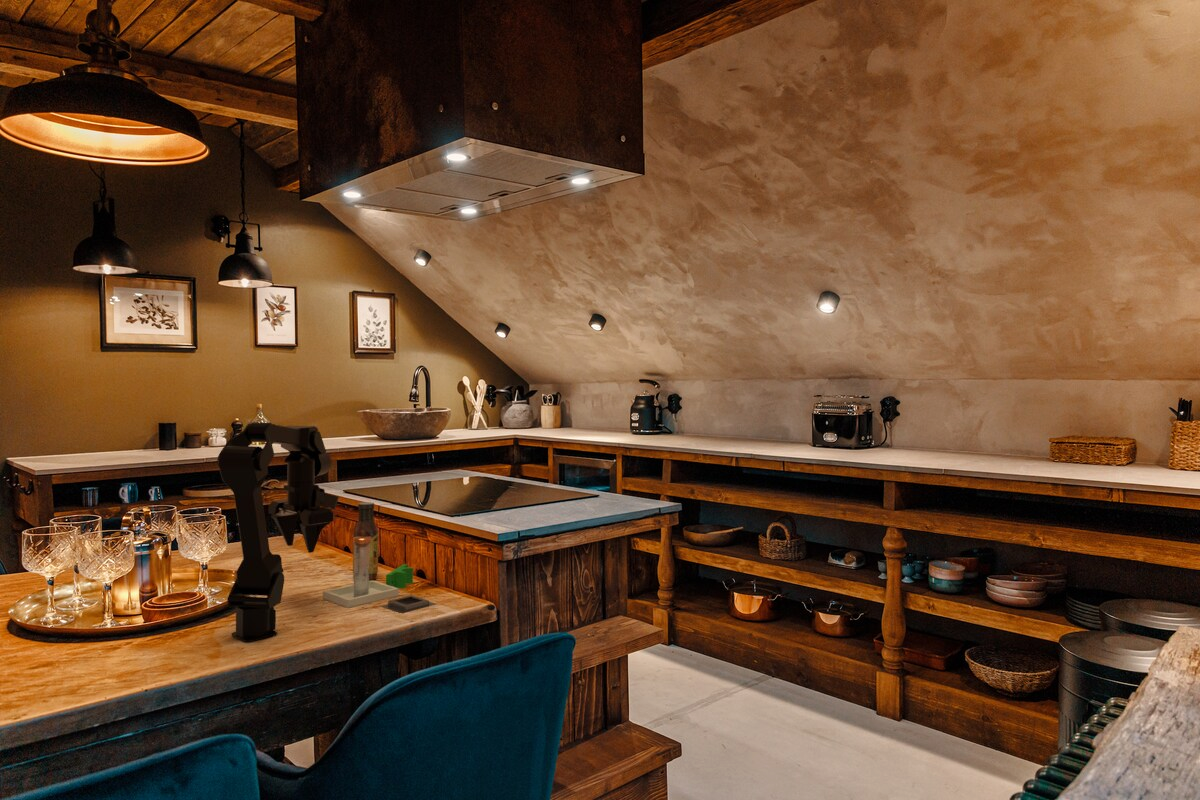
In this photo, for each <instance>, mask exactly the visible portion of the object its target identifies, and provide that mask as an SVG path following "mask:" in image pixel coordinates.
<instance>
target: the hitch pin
mask: <svg viewBox="0 0 1200 800" xmlns="http://www.w3.org/2000/svg"><path fill="white" fill-rule="evenodd" d="M371 540H372V537H370V536H357V537H354V536H353V537H352V544H353V543H355V552H354V573H353V575H354V578H353V585H354V598H355V597H360V596H364V595H368V594H369V552H370V543H371Z"/></svg>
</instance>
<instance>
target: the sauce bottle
mask: <svg viewBox="0 0 1200 800" xmlns="http://www.w3.org/2000/svg"><path fill="white" fill-rule="evenodd" d="M357 509H358V517H357V519H358V522H357V523H356V525H355V526H354V527H353V538H354V537H357V536H370V537H372V540H371V543H370V552H369V581H372V580H375V579H377V577H378V572H379V530H378V528H377V525H376V522H375V519H374V514H375V513H374V510H375V503H374V502H371V501H366V502H365V501H363V502H358V504H357ZM352 545H353V547H352V548H353V549H352V573H353V577H352V578H353V579H354V552H355V543H353V542H352Z"/></svg>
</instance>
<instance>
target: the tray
mask: <svg viewBox="0 0 1200 800" xmlns="http://www.w3.org/2000/svg"><path fill="white" fill-rule="evenodd" d="M399 591H400V588H396V587H392V586H389V585H386V583H383V582H380V581H376V580H375V579H373V580H370V581H369V594H368V595H364V596H360V597H355V598H354V584H349V585H345V586H340V587H336V588H332V589H331V588H330V589H326V590H323V591H322V600H324V601H327V602H329V603H333V604H335V605H338V606H341V607H343V608H346V609H351V608H352V609H353V608H355V607H361V606H364V605H367V604H372V603H377V602H381V601H384V600H389V599H392V598H393V599H394V598H397V597H399V595H400V594H399V593H400V592H399Z"/></svg>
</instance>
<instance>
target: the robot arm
mask: <svg viewBox="0 0 1200 800" xmlns="http://www.w3.org/2000/svg"><path fill="white" fill-rule="evenodd" d="M252 443H265V445H264V446H263V447H261V446H252ZM273 444H275V445H280V447H281V448H282V449H284V450H286V451H288V453H289V454H288V455H287V456H286V457H285V459H284V463H286V464H287V481H286V482H287V484H283V490H284V491H287V493H286V497H287V498H286V499H279V500H273V501H271V502H270V503H269V504H268V514H270V515H271V518H272V519H273V520H274V522H275V524H276V526H277V528H278V529H279V532H280V533H281V535H282V537H283V539H284V542H285V543H286V545H287V546H288V547H291V546H293V544H294V540H295V532H296V531H295V530H296V524H297V520H298V519H299V518H300V521H301V523H299V527H300V529H301V533H302V536H303V540H304V543H305V547H306V550H307V552H308V553H310V554H311V553H314V552H315V550H316V549H315V548H316V546H317V543H318V540H319V538H320V535H321V532H322V531H323V529H324V528H325V527H326V526H328V525H330V524H331V522H334V521H335V512H334V510H336V506H337V503H338V501H339V498H340V496H338V495H335V494H330V493H327V492H326V490H325V488H321V487H320V485H319V484H316V483H315V478H316V477H319V476H322V475H324V474H327V473H328V472H329V471H330V470H331V468H332V459H331V457H330V455H329V454H328V453H327V450H326V446H325V444H324V441H323V438H322V433H321V432H320V431H319V429H318V427H317V426H316V425H314V426H313V425H285V426H284V425H279V424H274V423H272V422H264V421H263V422H261V421H259V422H258V421H257V422H256V421H253V422H250V423H248V424H247V425H246V426H245V427H244V429H243V430H242V431H241V432H239V433H237V434H236V435H235V436H233V437H231V438H230V439H229V440H227V441H226V443H225V444H224V446H223V448H222V449H221V450H220V452H219V454H218V456H217V460H216V461H217V467H218V469H219V473H220V476H221V479H222V482H223V483H224V484H225V485H226V486H227V487H228V488H229V489H230V491H232V493H233V499H234V503H235V510H236V518H237V524H238V530H239V532H238V533H239V537H240V545H241V550H242V551H241V552H242V561H241V563H239V566H238V568H237V570H236V579H235V581H234V582H233V584H232V587H231V589H230V592H229V594H228V596H227V599H226V600H227V604H228V608H235V631H234V632H231V636H232V637H234V638H236V639H238V640H240V641H242V642H244V643H251V642H255V641H259V640H262V639H266V637H267V638H270V637H269V636H271V637H274V636H273V635H275V636H277V635H278V632H277V631H276V628H277V627H276V625H277V624H276V623H277V622H276V621H277V617H276V616H277V609H275V608H274V607H276V606H277V605H279V604H281V602H282V598H283V597H282V596H283V590H284V585H285V575H284V568H283V564H282V556H281V555H280V554H278V553H277V554H276V553H275V554H274V553H272V552H271V550H270V543H269V536H268V529H267V523H266V522H267V521H266V513H265V506H264V499H263V498H264V497H263V493H262V492H263V491H262V485H263V483H264V481H265V480H266V478H267V475H268V473H269V468H268V467H269V465H270V463H272V460H273V458H274V456H275V452H274V446H273ZM259 596H260V597H259ZM276 634H277V635H276Z"/></svg>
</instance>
